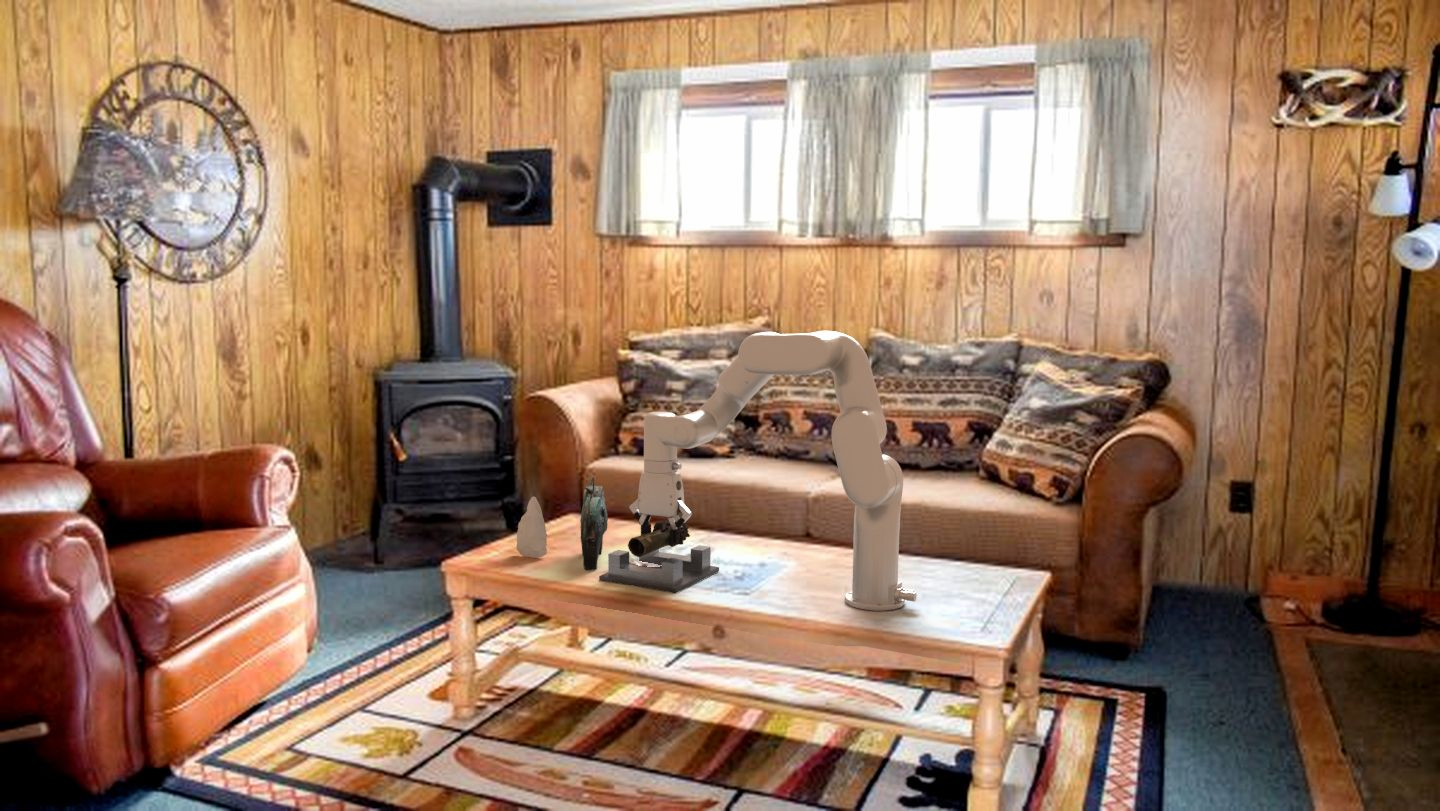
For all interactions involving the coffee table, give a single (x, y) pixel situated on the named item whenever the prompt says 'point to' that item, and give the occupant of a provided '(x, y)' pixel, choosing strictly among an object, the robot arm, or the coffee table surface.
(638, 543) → the metal pipe
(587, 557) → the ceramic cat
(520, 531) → the stone tool
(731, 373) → the robot arm
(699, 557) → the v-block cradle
